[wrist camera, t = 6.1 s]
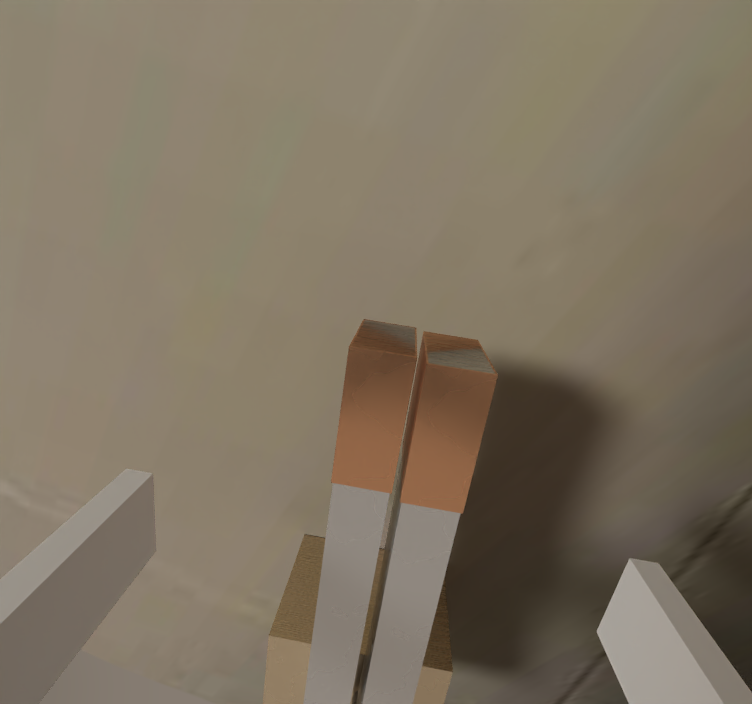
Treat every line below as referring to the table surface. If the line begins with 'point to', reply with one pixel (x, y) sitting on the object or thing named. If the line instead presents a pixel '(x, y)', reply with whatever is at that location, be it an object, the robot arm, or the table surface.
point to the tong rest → (353, 541)
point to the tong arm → (425, 511)
